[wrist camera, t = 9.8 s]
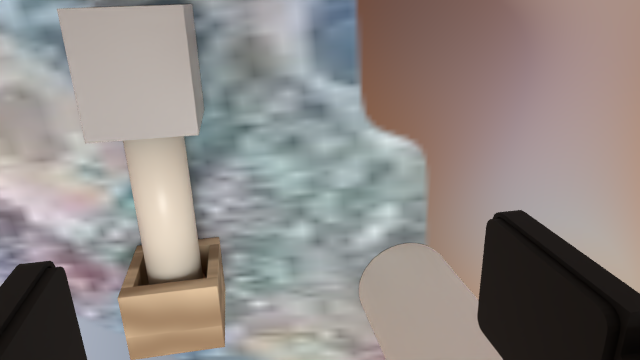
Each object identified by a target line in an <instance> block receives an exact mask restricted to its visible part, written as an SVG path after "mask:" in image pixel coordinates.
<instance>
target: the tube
mask: <svg viewBox="0 0 640 360" xmlns="http://www.w3.org/2000/svg"><path fill="white" fill-rule="evenodd" d="M123 143H124V148H125V154H126V159H127V165H128V170H129V176H130V181H131V187H132V192H133V198H134V204H135V209H136V215H137V220H138V226H139V231H140V237H141V242H142V248H143V253H144V259H145V264H146V270H147V275H148V281H149V284H148V285H153V284H161V283H170V282H178V281H187V280H195V279H204V278H206V277H205V275H204V274H203V273H202V266H201V258H200V251H199V243H198V236H197V228H196V221H195V213H194V206H193V199H192V191H191V184H190V176H189V169H188V161H187V154H186V146H185V139H184V136H180V137H166V138H153V139H139V140H126V141H123Z"/></svg>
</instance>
